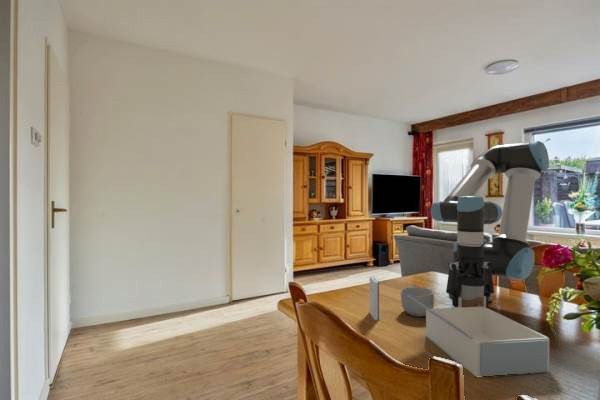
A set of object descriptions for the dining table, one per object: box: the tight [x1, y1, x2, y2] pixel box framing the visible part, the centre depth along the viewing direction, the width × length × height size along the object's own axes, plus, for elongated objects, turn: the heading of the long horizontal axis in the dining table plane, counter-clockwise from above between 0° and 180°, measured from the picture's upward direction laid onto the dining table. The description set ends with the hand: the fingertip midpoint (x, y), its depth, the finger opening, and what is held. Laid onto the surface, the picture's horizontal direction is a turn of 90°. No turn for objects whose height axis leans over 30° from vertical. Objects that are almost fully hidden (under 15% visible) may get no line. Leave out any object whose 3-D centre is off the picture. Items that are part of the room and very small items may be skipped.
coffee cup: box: [456, 273, 485, 307], centre depth 105 cm, size 8×8×15 cm
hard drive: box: [369, 276, 380, 321], centre depth 112 cm, size 2×8×12 cm, turn 0°
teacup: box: [399, 285, 435, 317], centre depth 116 cm, size 14×11×8 cm
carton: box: [425, 306, 550, 376], centre depth 85 cm, size 19×23×8 cm
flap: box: [408, 295, 473, 339], centre depth 84 cm, size 7×20×1 cm
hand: (470, 316), depth 105 cm, fingers closed on coffee cup, 7 cm apart
